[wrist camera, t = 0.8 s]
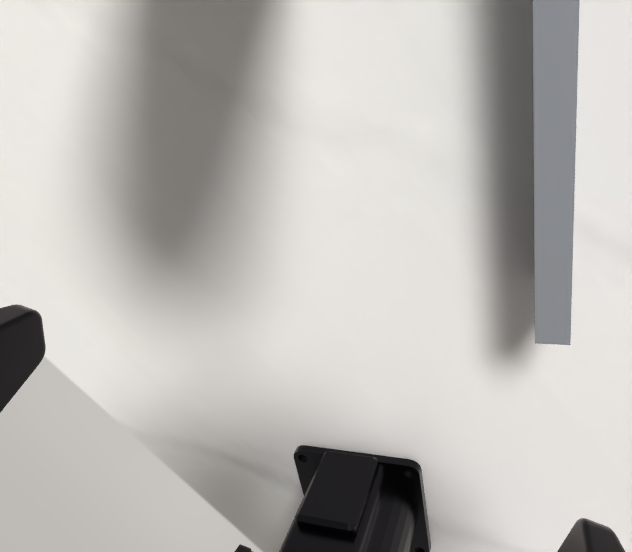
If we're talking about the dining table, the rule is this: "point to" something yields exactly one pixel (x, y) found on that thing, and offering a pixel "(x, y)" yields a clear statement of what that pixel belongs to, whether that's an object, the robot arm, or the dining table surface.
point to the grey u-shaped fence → (554, 164)
